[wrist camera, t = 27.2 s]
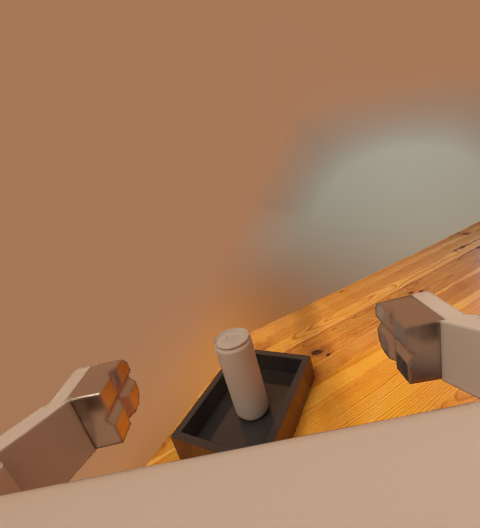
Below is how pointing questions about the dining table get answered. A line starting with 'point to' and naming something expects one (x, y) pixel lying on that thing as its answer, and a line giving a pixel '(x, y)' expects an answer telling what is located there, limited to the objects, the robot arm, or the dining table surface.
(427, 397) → the dining table surface
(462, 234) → the dining table surface
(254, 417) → the beverage can
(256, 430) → the dark shallow tray
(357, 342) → the dining table surface
